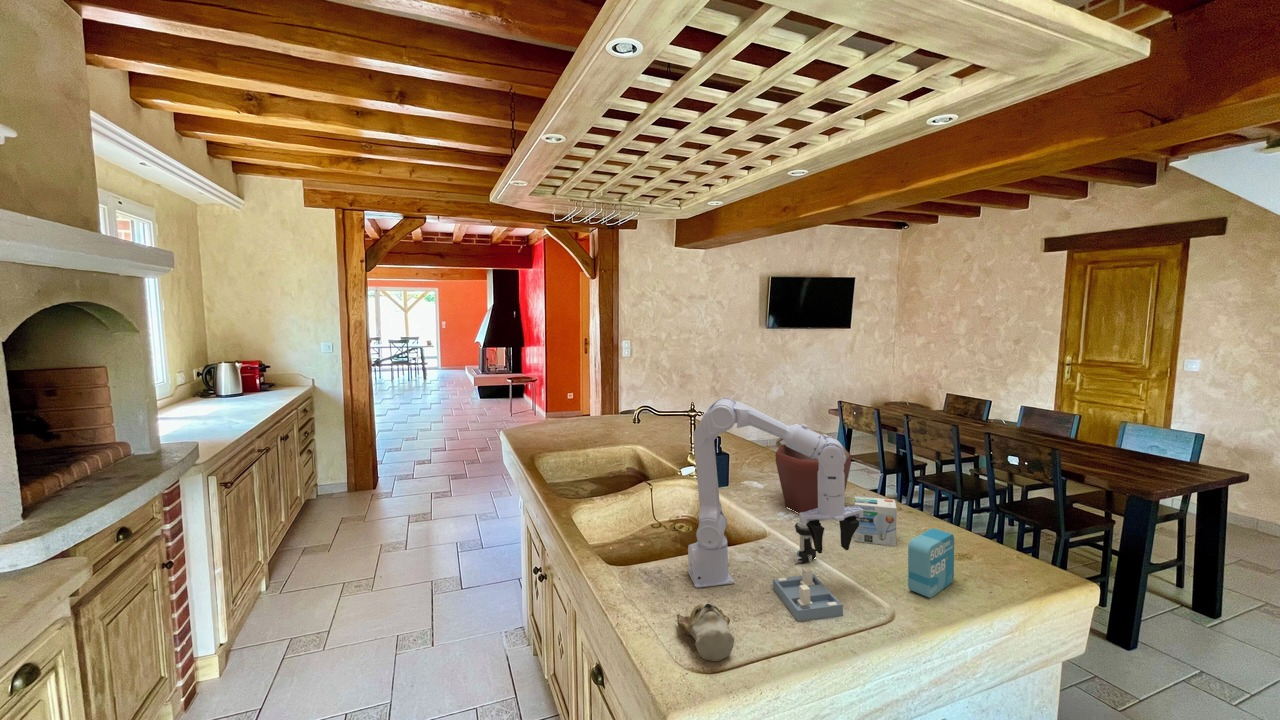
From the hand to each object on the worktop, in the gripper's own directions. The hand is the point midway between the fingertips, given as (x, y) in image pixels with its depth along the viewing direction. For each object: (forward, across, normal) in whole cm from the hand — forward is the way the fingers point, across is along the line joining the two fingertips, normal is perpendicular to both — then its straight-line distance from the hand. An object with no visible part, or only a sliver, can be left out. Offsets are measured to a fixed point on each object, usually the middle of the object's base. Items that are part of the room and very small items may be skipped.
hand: (831, 549), depth 118 cm
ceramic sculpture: (+10, -33, -13) cm, 37 cm away
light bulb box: (+10, +24, +21) cm, 33 cm away
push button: (+10, 0, +14) cm, 17 cm away
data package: (+10, +22, -4) cm, 24 cm away
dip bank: (+9, -8, -4) cm, 13 cm away
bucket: (+10, +19, +47) cm, 52 cm away
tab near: (+8, -10, -7) cm, 15 cm away
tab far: (+8, -6, 0) cm, 10 cm away
